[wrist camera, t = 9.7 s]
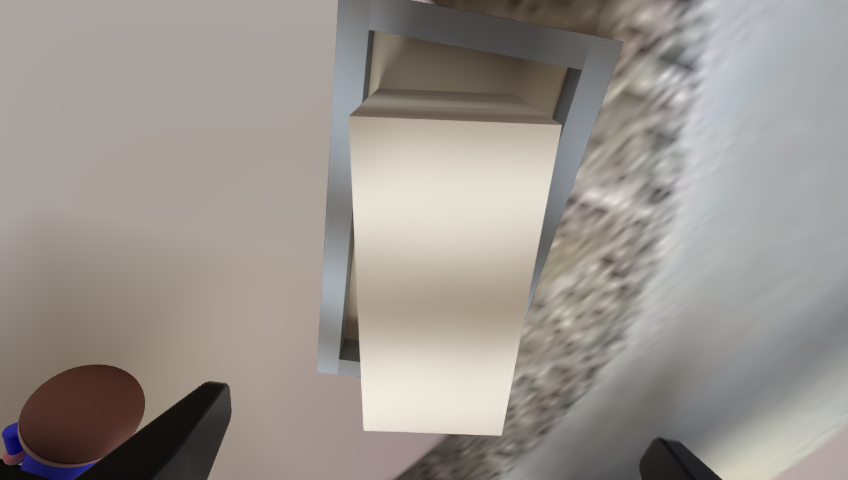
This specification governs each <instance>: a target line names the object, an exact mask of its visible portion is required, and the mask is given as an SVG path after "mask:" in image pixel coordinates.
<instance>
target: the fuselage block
mask: <svg viewBox="0 0 848 480" xmlns="http://www.w3.org/2000/svg"><path fill="white" fill-rule="evenodd" d="M561 127H562V125H561V124H560V123H558V122H556V121H555V120H553V119H552V118H550V117H548V116H547V115H545V114H544V113H542V112H541V111H539V110H537V109H536V108H534V107H533V106H531V105H530V104H528V103H526V102H525V101H523V100H522V99H520V98H519V97H517V96H515V95H514V94H503V93H480V92H456V91H432V90H409V89H385V88H378V89H377V90H376V91H375V92H374V93H373V94H372V95H370V96H369V97H368V98H367V99H366V100H365V101H364V102H363V103H362V104H361V105H360V106H359V107H358V108H357V109H356V110H355V111H354V112H352V113H351V114H350V115H349V136H350V157H351V178H352V199H353V220H354V241H355V262H356V283H357V304H358V325H359V346H360V366H361V387H362V406H363V407H362V408H363V429H364V431H384V432H413V433H440V434H468V435H496V436H502V431H503V426H504V421H505V415H506V410H507V405H508V400H509V395H510V390H511V385H512V379H513V374H514V369H515V364H516V359H517V354H518V349H519V343H520V338H521V333H522V328H523V323H524V318H525V313H526V307H527V302H528V297H529V292H530V287H531V282H532V277H533V271H534V266H535V261H536V256H537V251H538V246H539V241H540V235H541V230H542V225H543V220H544V215H545V210H546V205H547V199H548V194H549V189H550V184H551V179H552V174H553V169H554V163H555V158H556V153H557V148H558V143H559V138H560V133H561Z"/></svg>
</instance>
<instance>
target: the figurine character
mask: <svg viewBox="0 0 848 480" xmlns="http://www.w3.org/2000/svg"><path fill="white" fill-rule="evenodd" d="M144 409H145V398H144V393H143V390H142V388H141V386H140V384H139V383H138V381H137V380H136V379H135V378H134V377H133V376H132V375H130V374H129V373H127V372H126V371H123V370H122V369H119V368H117V367H113V366H108V365H86V366H80V367H76V368H73V369H69V370H67V371H65V372H62V373H60V374H58V375H56V376H54V377H52V378H51V379H49V380H48V381H47V382H45V383H44V384H42V385H41V386H40V387H39V388H38V389H37V390H36V391H35V392H34V393H33V394H32V395H31V396H30V398H29V399H28V401H27V402H26V404H25V405H24V407H23V409H22V411H21V414H20V417H19V421H18V422H17V423H15V424H12V425H10V426H8V427H6V428H5V429H4V431H3V433H2V436H3V439H4V443H5V446H6V450H7V451H6V452H5V453H4V456H3V460H2V459H0V480H73V479H74V478H76V477H77V476H78V475H80V474H81V473H83V472H84V471H85V470H87V469H88V468H89V467H91V466H92V465H93V464H95V463H96V462H97V461H99V460H100V459H102V458H103V457H104V456H106V455H107V454H108V453H110V452H111V451H112V450H114V449H115V448H116V447H118V446H119V445H121V444H122V443H123V442H125V441H126V440H127V439H129V438H130V437H131V436H132V435H133V434H134V433H135V431H136V430H137V428H138V426H139V424H140V422H141V420H142V417H143V414H144ZM22 462H23V463H22ZM20 463H22V466H21V465H17V464H20Z"/></svg>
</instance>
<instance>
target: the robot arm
mask: <svg viewBox="0 0 848 480" xmlns="http://www.w3.org/2000/svg"><path fill="white" fill-rule="evenodd" d="M231 411H232V410H231V398H230V388H229V386H228V384H226V383H221V382H213V381H209V382H205V383H203V384H202V385H201V386H199V387H198V388H197V389H195V390H194V391H192V392H191V393H190V394H188V395H187V396H186V397H184V398H183V399H182V400H180V401H179V402H178V403H176V404H175V405H173V406H172V407H171V408H169V409H168V410H167V411H165V412H164V413H163V414H161V415H160V416H159V417H157V418H156V419H154V420H153V421H152V422H150V423H149V424H148V425H146V426H145V427H144V428H142V429H141V430H140V431H138V432H137V433H135V434H134V435H133V436H131V437H130V438H129V439H127V440H126V441H125V442H123V443H122V444H121V445H119V446H118V447H116V448H115V449H114V450H112V451H111V452H110V453H108V454H107V455H106V456H104V457H103V458H102V459H100V460H99V461H97V462H96V463H95V464H93V465H92V466H91V467H89V468H88V469H87V470H85V471H84V472H83V473H81V474H80V475H78V476H77V477H76V478H74V479H73V480H207V479H208V476H209V473H210V471H211V468H212V466H213V463H214V461H215V458H216V456H217V453H218V450H219V448H220V445H221V443H222V440H223V438H224V435H225V432H226V430H227V427H228V425H229V422H230V418H231ZM639 469H640V474H641V478H642V480H722V479H721V478H720V477H719V476H718V475H716V474H715V473H714V472H713V471H712V470H711V469H710V468H709V467H707V466H706V465H705V464H704V463H703V462H702V461H701V460H700V459H698V458H697V457H696V456H695V455H694V454H693V453H692V452H691V451H689V450H688V449H687V448H686V447H685V446H684V445H683V444H681V443H680V442H679V441H677V440H675V439H669V438H661V437H658V438H655V439H654V440H653V441H652V443H651V444H650V446H649V447H648V449H647V450H646V452H645V453H644V455H643V456H642V458H641V460H640V464H639Z"/></svg>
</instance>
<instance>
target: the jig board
mask: <svg viewBox="0 0 848 480" xmlns="http://www.w3.org/2000/svg"><path fill="white" fill-rule="evenodd" d="M623 43H624V42H623V41H618V40H612V39H607V38H602V37H597V36H592V35H587V34H582V33H577V32H571V31H566V30H561V29H556V28H551V27H546V26H541V25H536V24H530V23H525V22H520V21H515V20H510V19H505V18H500V17H494V16H489V15H484V14H479V13H474V12H469V11H464V10H459V9H453V8H448V7H443V6H438V5H433V4H428V3H423V2H418V1H412V0H338V14H337V32H336V49H335V66H334V83H333V101H332V118H331V135H330V153H329V170H328V188H327V204H326V222H325V239H324V257H323V273H322V291H321V309H320V325H319V326H320V327H319V343H318V360H317V372H322V373H329V374H338V375H345V376H353V377H360V378H361V366H360V346H359V325H358V304H357V283H356V262H355V241H354V220H353V199H352V178H351V157H350V136H349V115H350V114H351V113H352V112H354V111H355V110H356V109H357V108H358V107H359V106H360V105H361V104H362V103H363V102H364V101H365V100H366V99H367V98H368V97H369V96H370V95H372V94H373V93H374V92H375V91H376V90H377V89H378V88H385V89H409V90H432V91H456V92H480V93H503V94H514V95H515V96H517V97H519V98H520V99H522V100H523V101H525V102H526V103H528V104H530V105H531V106H533V107H534V108H536V109H537V110H539V111H541V112H542V113H544V114H545V115H547V116H548V117H550V118H552V119H553V120H555V121H556V122H558V123H560V124H561V125H562V127H561V133H560V138H559V143H558V148H557V153H556V158H555V163H554V169H553V174H552V179H551V184H550V189H549V194H548V199H547V205H546V210H545V215H544V220H543V225H542V230H541V235H540V241H539V246H538V251H537V256H536V261H535V266H534V271H533V277H532V282H531V287H530V292H529V297H528V302H527V307H526V313H525V317H526V314H527V311H528V308H529V306H530V303H531V300H532V297H533V294H534V292H535V289H536V286H537V283H538V280H539V278H540V275H541V272H542V269H543V266H544V264H545V261H546V258H547V255H548V253H549V250H550V247H551V244H552V241H553V239H554V236H555V233H556V230H557V227H558V225H559V222H560V219H561V216H562V213H563V211H564V208H565V205H566V202H567V199H568V197H569V194H570V191H571V188H572V185H573V183H574V180H575V177H576V174H577V172H578V169H579V166H580V163H581V160H582V158H583V155H584V152H585V149H586V146H587V144H588V141H589V138H590V135H591V132H592V130H593V127H594V124H595V121H596V118H597V116H598V113H599V110H600V107H601V104H602V102H603V99H604V96H605V93H606V90H607V88H608V85H609V82H610V79H611V77H612V74H613V71H614V68H615V65H616V63H617V60H618V57H619V54H620V51H621V49H622V46H623ZM524 320H525V318H524Z"/></svg>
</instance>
